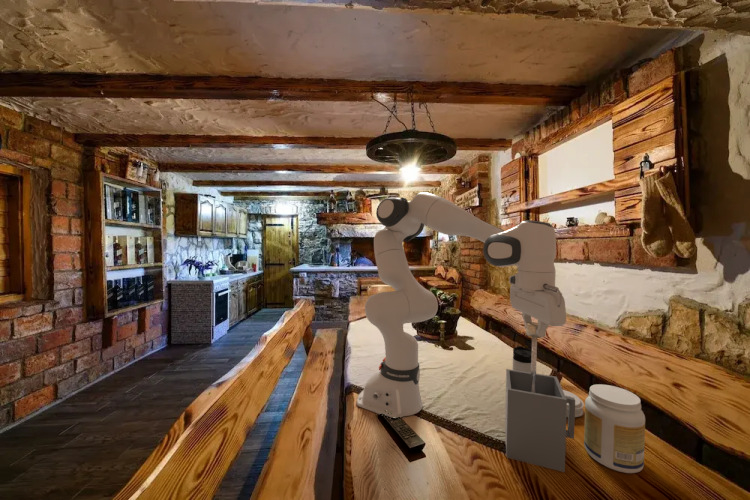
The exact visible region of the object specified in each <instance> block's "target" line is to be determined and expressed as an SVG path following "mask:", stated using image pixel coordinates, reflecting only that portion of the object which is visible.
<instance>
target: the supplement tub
mask: <svg viewBox="0 0 750 500" xmlns="http://www.w3.org/2000/svg"><path fill="white" fill-rule="evenodd" d="M641 402H642V401H641V398H640V397H639V396H638V395H636V394H635V393H633V392H631V391H630V390H628V389H625V388H622V387H618V386H614V385H609V384H604V383H603V384H602V383H601V384H600V383H599V384H597V383H596V384H593V385H591V386H590V387H589V392H588V396H586V398H585V401H584V433H583V434H584V435H583V436H584V437H583V439H584V441H583V444H584V449H585V450H586V453H588V455H589V456H590V457H591V458H592V459H593V460H595V461H596V462H598V463H599V464H601V465H603V466H604V467H607V468H608V469H610V470H613V471H616V472H620V473H625V474H636V473H639V472H641V471H642V470H643V468H644V466H645V441H646V440H645V438H646V436H645V435H646V433H645V432H646V415H645V414H644V411H643V410H642V404H641Z"/></svg>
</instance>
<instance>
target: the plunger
mask: <svg viewBox="0 0 750 500" xmlns="http://www.w3.org/2000/svg"><path fill="white" fill-rule="evenodd" d="M538 326H539V324H538V322H537V321H536V322H535V321H532V322H527V323H526V329H525V331H526V332H525V334H526V336H528V337H531V350H532V357H531V392H533V393H536V374H537V354H538V353H537V352H538V351H537V350H538V349H537V348H538V339H539V338H543V337H539V336H537V335H536V329H538Z"/></svg>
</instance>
